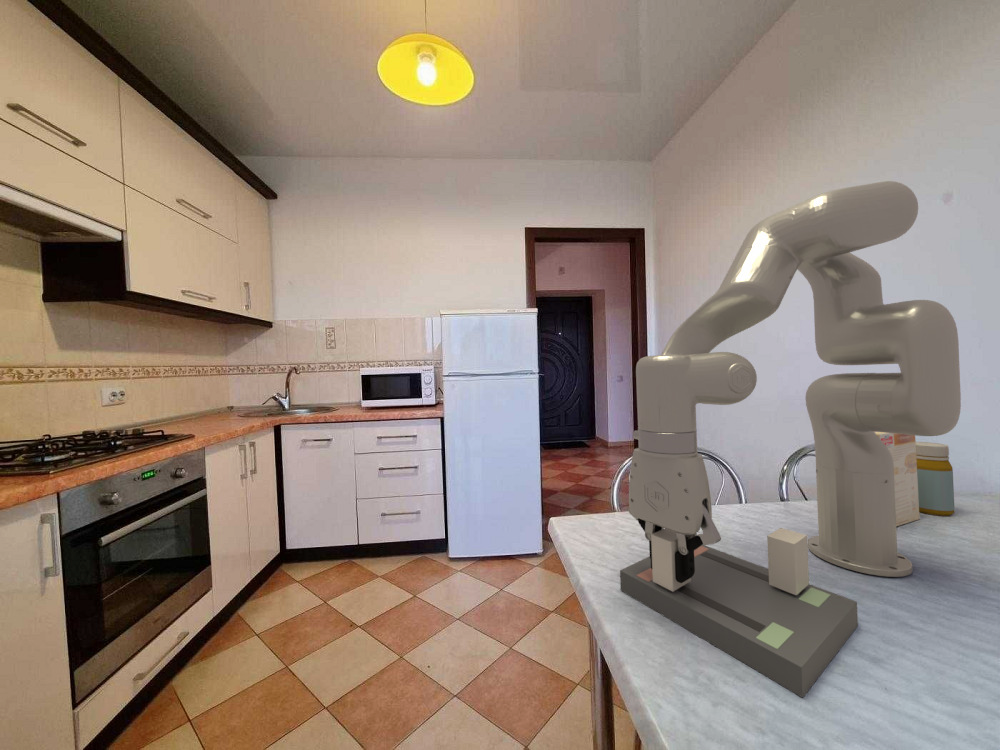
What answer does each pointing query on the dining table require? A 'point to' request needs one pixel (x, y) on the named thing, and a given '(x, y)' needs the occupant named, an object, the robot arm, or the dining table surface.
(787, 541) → the block
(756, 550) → the dining table surface
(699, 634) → the breaker panel
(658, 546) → the block
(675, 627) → the dining table surface
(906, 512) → the coffeecake box
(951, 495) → the bottle
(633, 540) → the dining table surface
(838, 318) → the robot arm
